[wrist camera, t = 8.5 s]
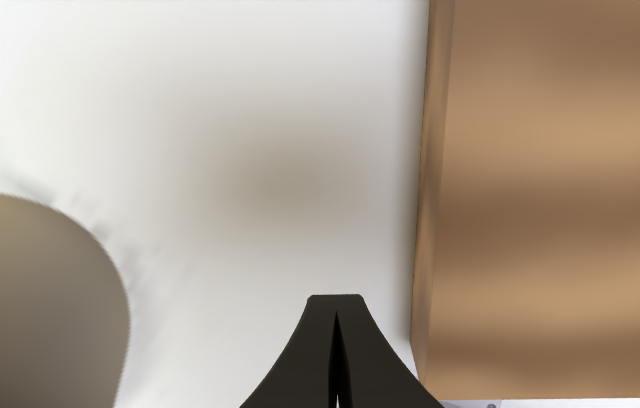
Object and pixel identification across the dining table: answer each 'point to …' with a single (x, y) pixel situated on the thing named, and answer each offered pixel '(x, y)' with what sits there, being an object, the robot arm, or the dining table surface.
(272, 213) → the dining table surface
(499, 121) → the walnut deck
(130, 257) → the dining table surface
